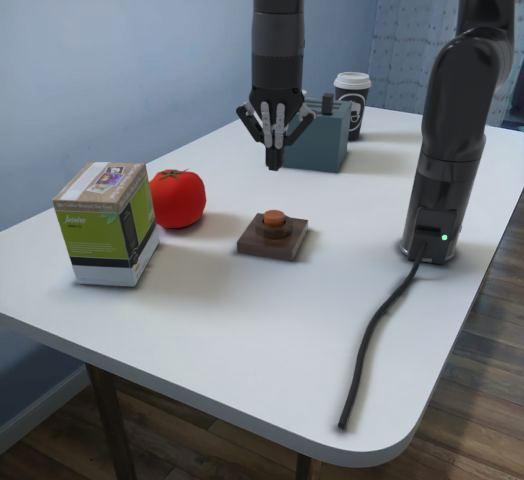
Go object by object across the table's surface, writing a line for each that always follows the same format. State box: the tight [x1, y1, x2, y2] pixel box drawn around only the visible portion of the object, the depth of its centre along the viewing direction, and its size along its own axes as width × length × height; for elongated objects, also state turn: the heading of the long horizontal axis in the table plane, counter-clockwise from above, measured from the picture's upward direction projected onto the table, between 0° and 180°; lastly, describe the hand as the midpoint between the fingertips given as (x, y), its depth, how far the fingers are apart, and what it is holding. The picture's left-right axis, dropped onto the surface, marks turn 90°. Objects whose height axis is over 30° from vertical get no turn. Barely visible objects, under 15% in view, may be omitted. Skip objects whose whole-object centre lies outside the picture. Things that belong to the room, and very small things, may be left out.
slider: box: [321, 92, 335, 114], centre depth 109 cm, size 3×2×4 cm
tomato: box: [149, 168, 207, 229], centre depth 93 cm, size 11×13×10 cm
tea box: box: [51, 160, 160, 288], centre depth 80 cm, size 15×10×15 cm, turn 174°
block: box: [236, 212, 309, 262], centre depth 89 cm, size 12×10×4 cm
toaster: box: [282, 97, 352, 174], centre depth 118 cm, size 14×16×12 cm
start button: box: [263, 209, 285, 227], centre depth 87 cm, size 4×4×2 cm
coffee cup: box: [333, 71, 372, 142], centre depth 130 cm, size 10×10×15 cm
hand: (274, 169), depth 82 cm, fingers closed
